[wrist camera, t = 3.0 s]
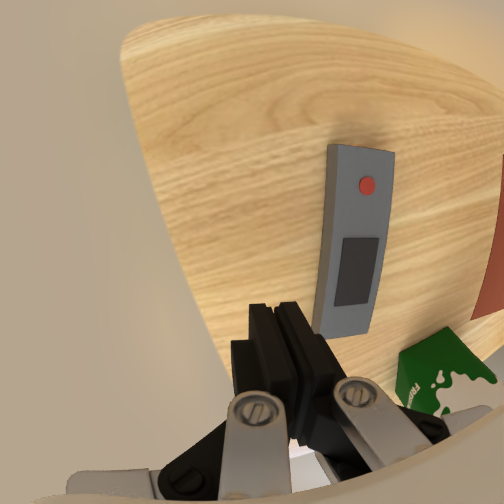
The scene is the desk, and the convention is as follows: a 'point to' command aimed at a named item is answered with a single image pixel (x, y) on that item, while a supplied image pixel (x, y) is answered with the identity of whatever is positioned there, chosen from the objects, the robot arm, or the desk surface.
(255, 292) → the desk surface
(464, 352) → the milk carton
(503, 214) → the mat
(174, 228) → the desk surface
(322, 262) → the remote
